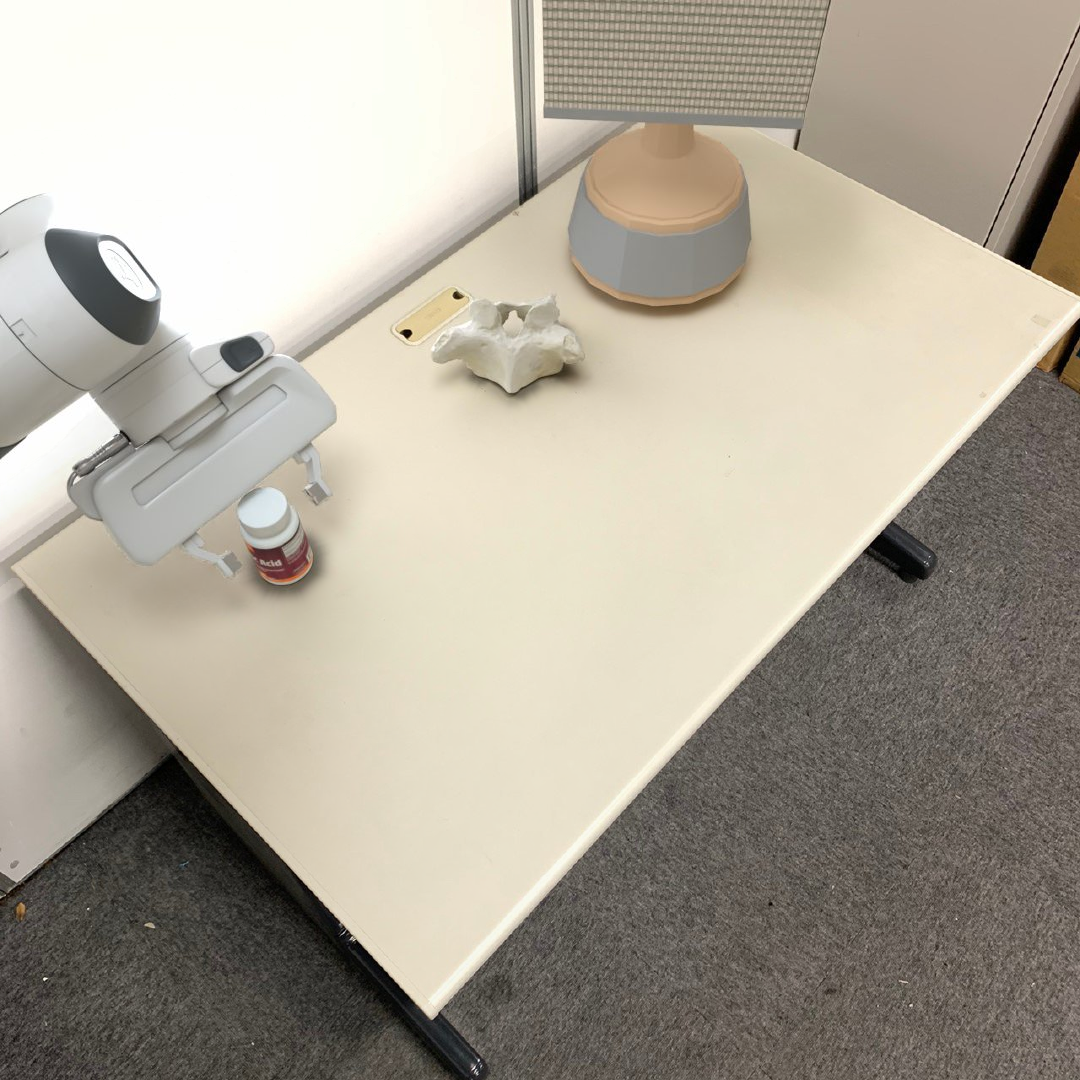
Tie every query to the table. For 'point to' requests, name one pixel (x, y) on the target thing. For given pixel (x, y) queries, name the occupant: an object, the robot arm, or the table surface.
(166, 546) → the robot arm
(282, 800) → the table surface
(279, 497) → the pill bottle
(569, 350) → the bone
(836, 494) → the table surface
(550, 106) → the desk lamp
